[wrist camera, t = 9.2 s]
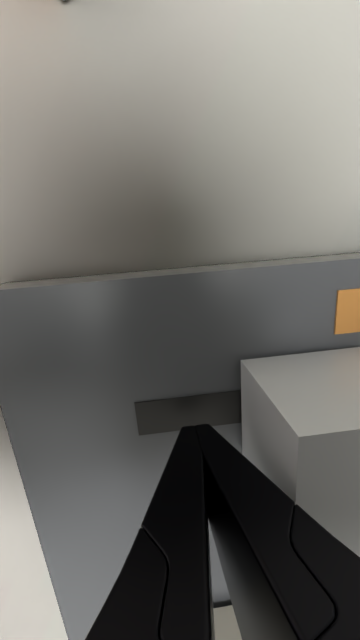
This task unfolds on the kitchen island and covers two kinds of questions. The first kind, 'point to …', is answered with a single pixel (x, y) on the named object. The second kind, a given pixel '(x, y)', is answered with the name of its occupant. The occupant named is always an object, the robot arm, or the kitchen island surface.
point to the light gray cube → (308, 432)
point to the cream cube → (226, 624)
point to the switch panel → (143, 391)
